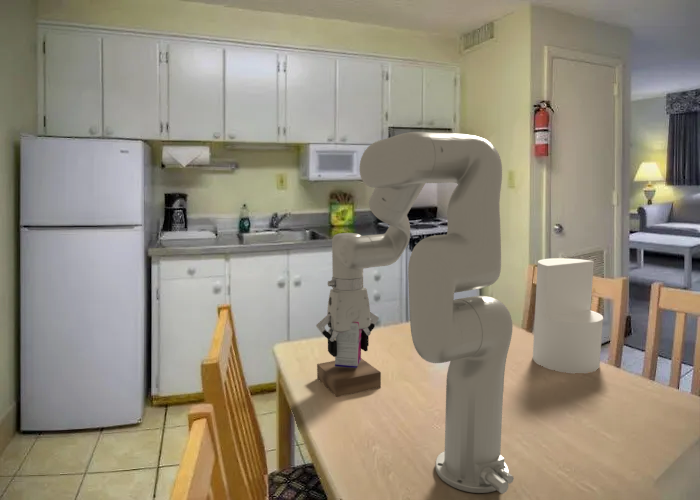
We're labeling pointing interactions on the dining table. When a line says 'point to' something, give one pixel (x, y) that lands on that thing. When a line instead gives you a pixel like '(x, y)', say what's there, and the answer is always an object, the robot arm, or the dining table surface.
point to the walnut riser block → (348, 378)
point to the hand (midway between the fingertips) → (348, 352)
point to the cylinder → (566, 317)
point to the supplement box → (349, 347)
